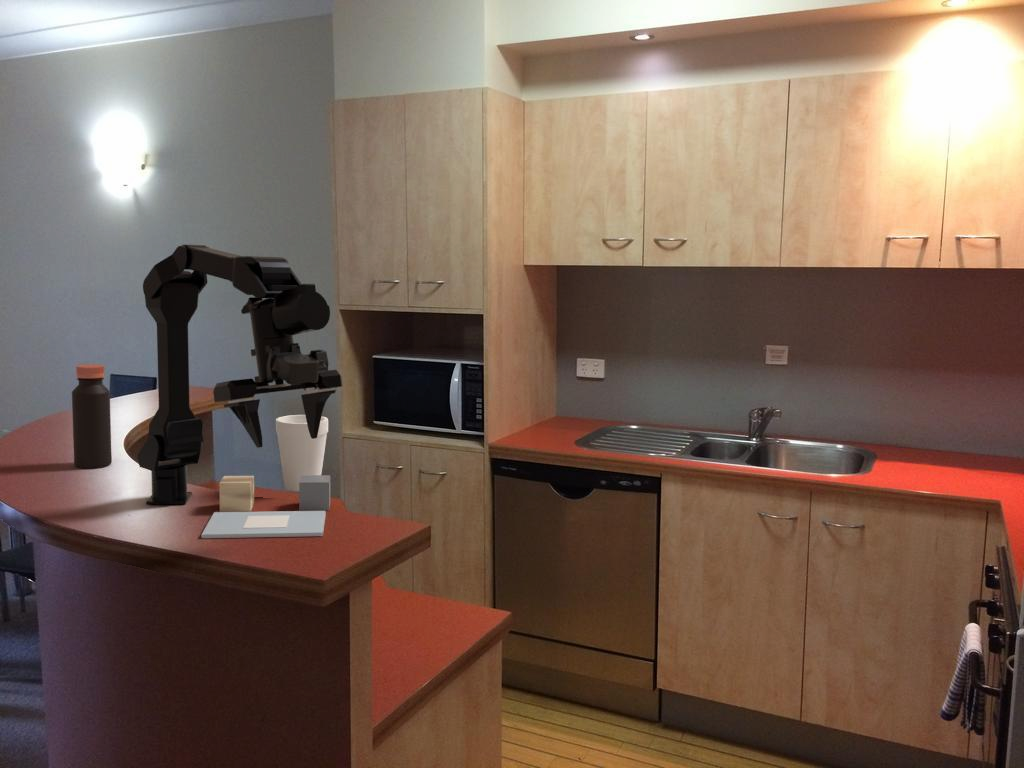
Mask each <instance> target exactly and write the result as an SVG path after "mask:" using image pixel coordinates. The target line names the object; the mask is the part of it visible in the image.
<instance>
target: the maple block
mask: <svg viewBox="0 0 1024 768" xmlns="http://www.w3.org/2000/svg"><path fill="white" fill-rule="evenodd" d="M254 505H255V475H223V477H222V478H221V480H220V482H219V512H252V509H253V507H254Z"/></svg>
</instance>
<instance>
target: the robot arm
mask: <svg viewBox="0 0 1024 768" xmlns="http://www.w3.org/2000/svg"><path fill="white" fill-rule="evenodd" d="M175 248H176V249H174V251H173V253H172V254H170V255H169V256H167V257H165V258H164V259H162V260H161V261H159V262H157V263H155V265H153V266H152V268H151V270H150V271H149V272H148V274H147V275H146V276H145V278H144V280H143V283H142V290H143V292H142V293H143V294H144V301H145V302H144V303H145V307H146V310H147V311H148V312H149V314H150V316H151V318H152V319H153V320H154V321H155V323H156V344H157V345H156V349H157V352H156V353H157V385H158V387H157V389H158V391H157V392H158V393H157V394H158V409H157V410H156V412H155V413H154V415H153V417H152V419H151V420H150V421H149V424H148V437H147V439H146V441H145V442H144V444H143V446H142V447H141V449H140V450H139V452H138V453H137V461H138V467H139V468H143V469H146V470H149V471H151V495H150V496H149V497H148V498H147V499H146V502H145V503H146V505H185V504H187V503H188V501H189V500H190V498H191V497H192V496H193V492H192V491H188V474H187V467H188V466H189V465H193V464H194V465H196V464H198V463H199V461H200V455H201V451H202V446H203V442H204V437H203V436H204V435H203V426H204V425H203V421H202V418H200V417H198V418H197V416H196V415H195V413H194V412H193V411H192V409H191V405H190V402H191V401H190V398H191V397H190V357H189V355H190V353H189V349H190V348H189V323H190V322H191V320H192V318H193V316H194V315H195V313H196V311H197V309H198V305H199V304H198V303H199V294H200V293H201V292H202V291H203V290H204V288H206V285H207V284H208V275H209V276H213V277H215V278H220V279H223V280H226V281H229V282H230V283H232V284H231V285H232V286H233V288H234V289H236V290H238V291H239V292H242V293H243V294H244V295H247V296H251V297H249V298H248V300H247V302H246V303H245V304H244V305H243V306H242V308H241V310H240V311H241V314H242V315H249V316H250V322H251V330H252V337H253V344H254V348H252V349H250V354H251V355H250V356H251V357H255V361H256V367H257V375H258V376H257V375H256V376H254V378H244V379H243V378H242V379H234V380H227V381H222V382H218V383H216V384H215V386H214V387H213V400H214V403H215V404H216V403H225V402H227V403H225V404H223V408H225V409H226V408H229V409H230V410H231V411H232V413H233V414H234V415H235V416H236V419H238V420H239V421H240V423H241V424H242V426H243V428H244V429H245V431H246V432H247V435H248V436H249V437H250V439H251V440H252V442H253V444H254V445H255V447H256V448H258V449H260V448H263V447H264V446H263V434H262V428H261V423H260V418H259V407H260V403H261V402H260V401H261V399H260V398H259V399H255V395H261V394H271V393H278V392H286V391H287V392H288V391H294V390H295V391H297V390H304V391H305V394H304V393H303V394H301V402H302V405H303V410H304V415H305V416H306V421H307V425H308V430H309V433H310V436H311V438H312V439H315V438H317V435H318V430H319V426H320V421H321V416H322V415H323V411H324V408H325V405H326V402H327V400H328V399H329V398H330V396H331V395H333V394H336V392H337V389H336V388H341V387H344V386H343V377H342V375H341V374H340V373H339V371H338V370H337V369H330V370H329V358H328V355H327V353H328V352H327V351H326V350H323V349H311V350H310V352H309V353H308V354H303V353H302V351H301V346H300V345H299V342H294V336H296V335H297V336H298V335H301V334H306V333H311V332H315V331H319V330H322V329H324V328H325V327H326V326H327V325H328V323H329V322H330V316H331V310H330V306H329V305H328V303H327V301H326V299H325V298H324V296H323V295H322V294H321V293H320V292H317V289H316V284H315V283H301V281H300V279H299V278H298V277H297V275H296V274H295V273H294V271H293V270H292V268H291V267H290V266H289V261H288V260H287V259H286V258H284V257H282V256H281V257H280V256H259V255H258V256H256V255H255V256H253V255H250V256H249V255H246V256H244V255H243V256H242V255H239V254H235V253H231V252H226V251H224V250H220V249H219V250H218V249H214V248H211V247H209V246H206V245H203V244H182V245H178V246H177V247H175ZM191 271H192V272H191ZM252 296H253V297H252ZM284 381H285V383H284ZM272 383H275V384H272ZM269 384H270V385H269ZM332 389H333V390H332Z"/></svg>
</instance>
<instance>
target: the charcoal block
mask: <svg viewBox="0 0 1024 768" xmlns="http://www.w3.org/2000/svg"><path fill="white" fill-rule="evenodd" d="M298 493H299V496H298V498H299V499H298V501H299V503H298V506H299V507H298V508H299V510H298V511H330V508H331V507H330V506H331V475H327V474H326V475H323V474H321V475H301V478H300V482H299V492H298Z"/></svg>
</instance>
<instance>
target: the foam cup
mask: <svg viewBox="0 0 1024 768" xmlns="http://www.w3.org/2000/svg"><path fill="white" fill-rule="evenodd" d="M275 432H276V433H277V441H278V448H279V457H280V462H281V463H280V464H281V470H282V471H281V472H282V478H283V485H284V489H285V490H286V491H289V492H295V493H299V482H300V478H301V475H322V474H323V473H322V472H323V464H324V458H325V450H326V444H327V443H326V442H327V436H328V433H329V419H328V417H326V416H324V415H323V416H321V421H320V426H319V430H318V435H317V438H315V439H312V438H311V436H310V433H309V430H308V425H307V421H306V416H305V414H293V415H292V414H291V415H285V416H279V417H277V418H276V419H275Z"/></svg>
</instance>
